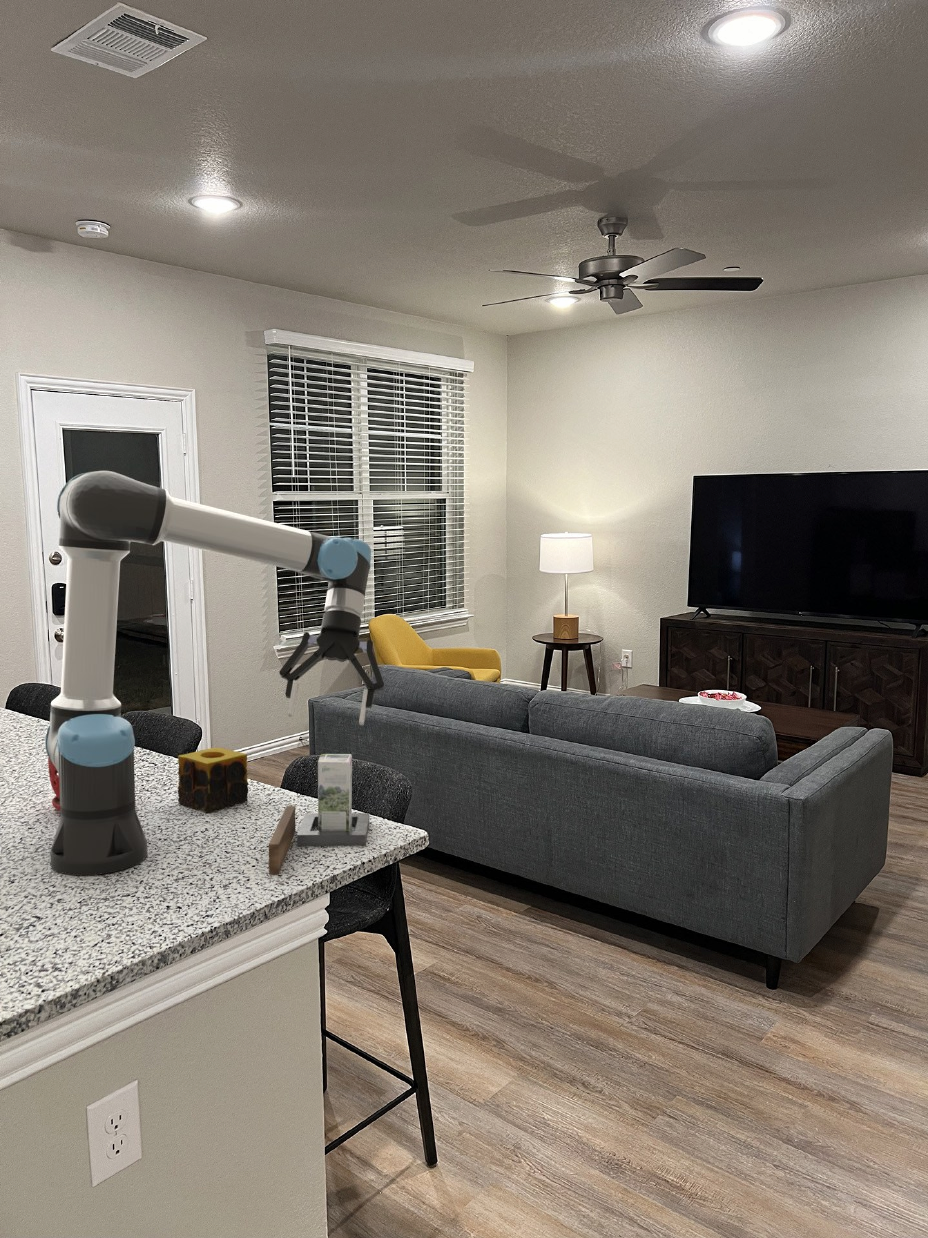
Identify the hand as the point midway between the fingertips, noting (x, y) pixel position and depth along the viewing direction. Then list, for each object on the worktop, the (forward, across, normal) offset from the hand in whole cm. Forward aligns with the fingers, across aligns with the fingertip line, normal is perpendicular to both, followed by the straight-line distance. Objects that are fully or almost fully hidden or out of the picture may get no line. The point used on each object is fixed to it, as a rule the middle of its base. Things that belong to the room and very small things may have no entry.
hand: (325, 719), depth 179 cm
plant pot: (+21, +45, -13) cm, 51 cm away
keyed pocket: (+21, -5, +2) cm, 22 cm away
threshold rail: (+26, +2, +10) cm, 28 cm away
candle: (+17, +22, -16) cm, 32 cm away
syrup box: (+21, -5, +2) cm, 22 cm away
